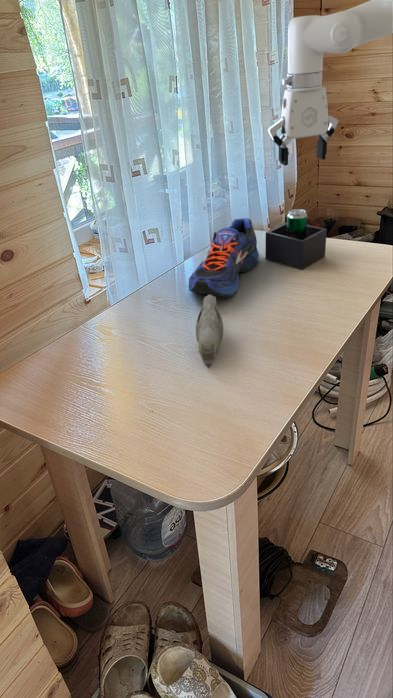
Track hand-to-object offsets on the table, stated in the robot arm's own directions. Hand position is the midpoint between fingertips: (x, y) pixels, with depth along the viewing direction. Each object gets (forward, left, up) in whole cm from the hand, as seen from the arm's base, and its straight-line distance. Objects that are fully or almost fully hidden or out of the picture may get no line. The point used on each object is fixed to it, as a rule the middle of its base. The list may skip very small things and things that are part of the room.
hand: (302, 161), depth 123 cm
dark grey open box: (0, +1, -25) cm, 25 cm away
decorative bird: (-12, +47, -25) cm, 54 cm away
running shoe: (+7, +22, -25) cm, 34 cm away
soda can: (0, +1, -24) cm, 24 cm away
